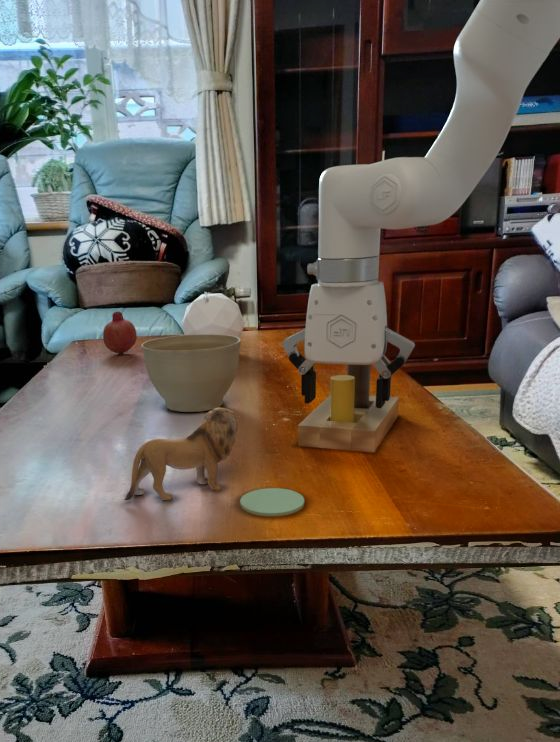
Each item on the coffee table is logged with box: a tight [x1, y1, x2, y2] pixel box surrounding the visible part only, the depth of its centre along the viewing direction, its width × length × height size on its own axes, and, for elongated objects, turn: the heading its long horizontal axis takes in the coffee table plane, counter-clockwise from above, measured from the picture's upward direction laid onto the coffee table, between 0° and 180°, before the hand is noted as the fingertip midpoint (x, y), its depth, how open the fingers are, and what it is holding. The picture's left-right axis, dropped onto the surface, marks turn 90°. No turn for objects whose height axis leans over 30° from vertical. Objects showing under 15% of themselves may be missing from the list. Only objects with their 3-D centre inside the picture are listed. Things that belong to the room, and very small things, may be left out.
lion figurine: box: [123, 406, 238, 501], centre depth 78 cm, size 15×5×9 cm, turn 118°
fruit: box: [102, 310, 137, 355], centre depth 161 cm, size 8×8×10 cm
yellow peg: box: [329, 374, 355, 423], centre depth 93 cm, size 3×3×8 cm
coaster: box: [239, 487, 305, 517], centre depth 74 cm, size 7×7×1 cm
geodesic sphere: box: [181, 291, 245, 339], centre depth 153 cm, size 15×14×14 cm
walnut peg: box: [346, 364, 371, 409], centre depth 98 cm, size 3×3×11 cm
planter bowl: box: [140, 334, 242, 413], centre depth 113 cm, size 16×16×11 cm
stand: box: [297, 395, 400, 453], centre depth 97 cm, size 10×17×3 cm, turn 155°
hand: (344, 403), depth 92 cm, fingers open, 9 cm apart
